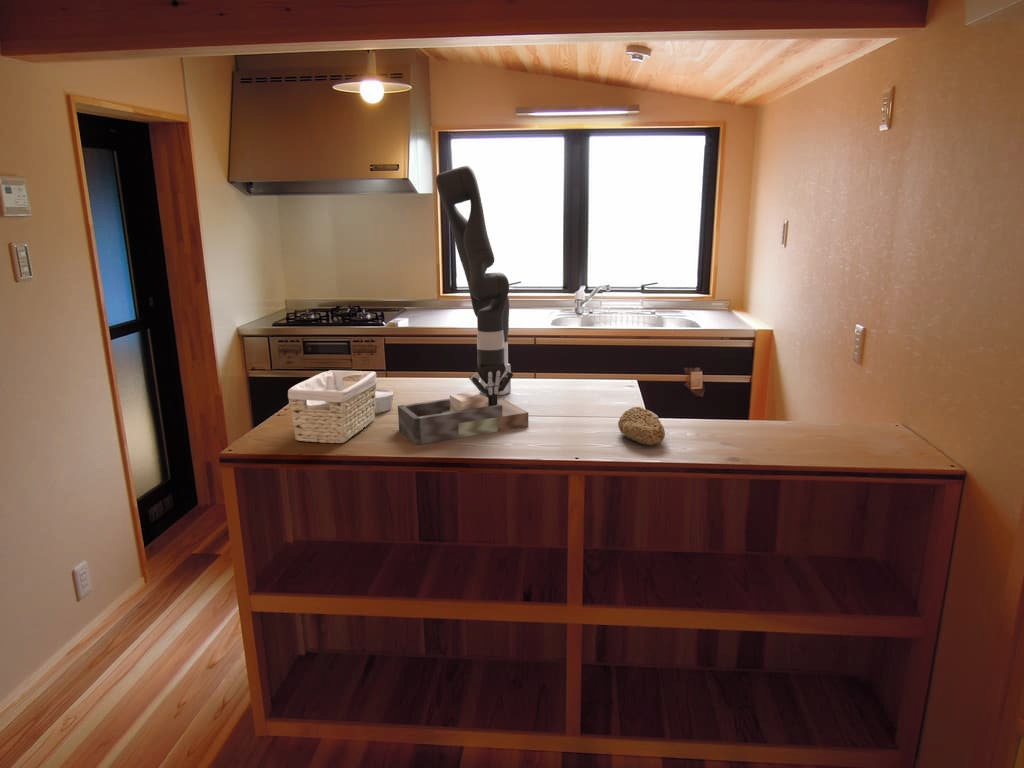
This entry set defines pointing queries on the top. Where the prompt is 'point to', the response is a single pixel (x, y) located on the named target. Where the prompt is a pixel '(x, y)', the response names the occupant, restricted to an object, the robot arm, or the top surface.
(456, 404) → the block
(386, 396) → the ramekin
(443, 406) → the lane
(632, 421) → the sponge
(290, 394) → the storage basket
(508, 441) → the top surface
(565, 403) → the top surface
